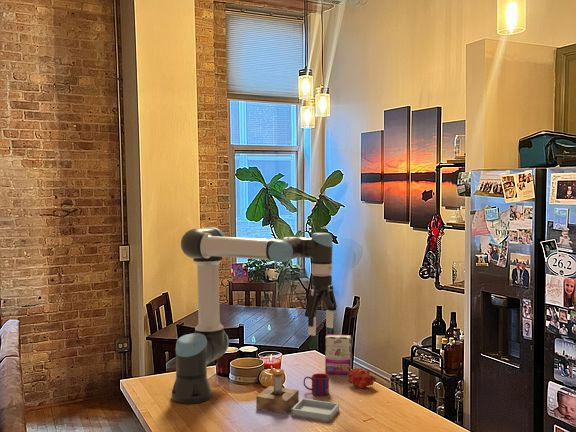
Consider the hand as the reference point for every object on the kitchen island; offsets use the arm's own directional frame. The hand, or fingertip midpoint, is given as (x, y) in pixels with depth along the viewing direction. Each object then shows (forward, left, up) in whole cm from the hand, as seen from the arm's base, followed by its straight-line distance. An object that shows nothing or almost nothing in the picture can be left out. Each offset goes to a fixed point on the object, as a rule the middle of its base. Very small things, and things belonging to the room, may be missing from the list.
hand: (320, 331), depth 215 cm
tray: (+1, -9, -28) cm, 29 cm away
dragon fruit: (+10, +24, -28) cm, 38 cm away
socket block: (-14, -7, -28) cm, 32 cm away
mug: (-5, +11, -28) cm, 30 cm away
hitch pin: (-14, -7, -28) cm, 32 cm away
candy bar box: (-4, +38, -28) cm, 47 cm away
